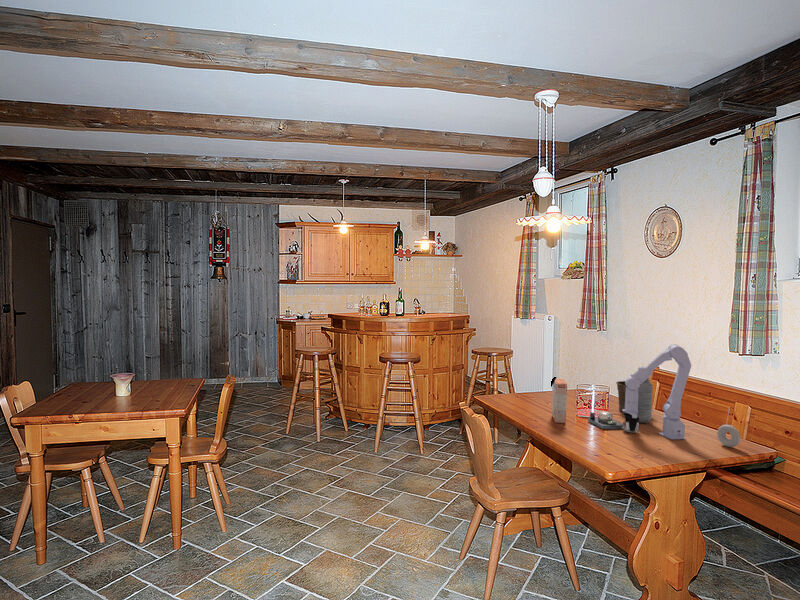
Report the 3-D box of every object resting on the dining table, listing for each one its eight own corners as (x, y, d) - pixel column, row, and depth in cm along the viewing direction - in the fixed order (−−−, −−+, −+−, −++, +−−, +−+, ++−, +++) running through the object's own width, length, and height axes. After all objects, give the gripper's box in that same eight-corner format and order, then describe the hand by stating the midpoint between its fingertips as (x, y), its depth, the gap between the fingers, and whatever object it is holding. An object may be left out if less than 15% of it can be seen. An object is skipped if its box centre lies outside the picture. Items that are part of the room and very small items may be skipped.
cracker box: (566, 423, 261) (567, 384, 260) (554, 423, 262) (555, 383, 262) (563, 416, 275) (564, 378, 274) (551, 416, 276) (552, 378, 275)
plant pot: (620, 406, 300) (620, 379, 299) (649, 411, 290) (650, 383, 289) (611, 411, 287) (612, 383, 287) (642, 416, 277) (643, 387, 277)
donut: (741, 449, 225) (742, 427, 224) (736, 450, 223) (737, 428, 223) (719, 442, 234) (720, 421, 233) (714, 443, 232) (715, 422, 232)
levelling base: (624, 428, 254) (625, 417, 253) (602, 429, 252) (602, 417, 252) (609, 421, 267) (609, 410, 267) (588, 421, 266) (588, 410, 265)
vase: (646, 418, 273) (647, 377, 272) (655, 425, 261) (656, 381, 260) (624, 418, 274) (625, 376, 273) (631, 424, 263) (633, 380, 262)
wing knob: (638, 431, 249) (639, 421, 249) (637, 433, 245) (638, 423, 244) (623, 428, 253) (623, 419, 252) (622, 431, 248) (622, 421, 248)
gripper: (619, 397, 256) (618, 424, 256) (626, 404, 242) (625, 432, 242) (634, 398, 254) (633, 425, 255) (642, 405, 240) (641, 433, 241)
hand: (630, 428), depth 249 cm, fingers open, 6 cm apart
